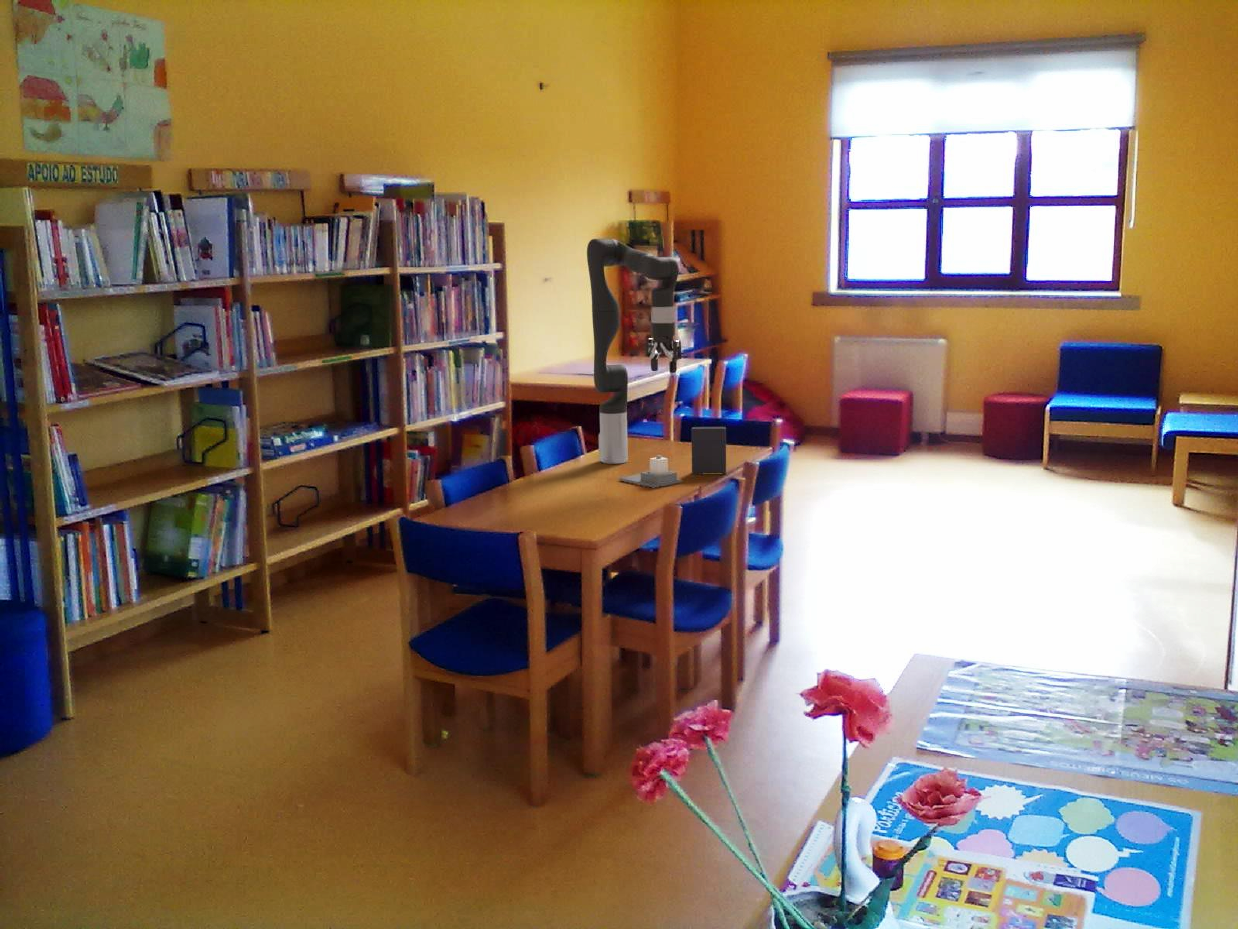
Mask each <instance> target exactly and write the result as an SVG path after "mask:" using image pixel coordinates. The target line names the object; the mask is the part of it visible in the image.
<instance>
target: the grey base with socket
mask: <svg viewBox="0 0 1238 929" xmlns="http://www.w3.org/2000/svg"><path fill="white" fill-rule="evenodd" d="M677 473H678V472H677V471H672V470H668V473H667V474H662V475H654V474H650V470H648V471H642V472H640V473H637V474H632V475H629V476H628V475H627V476H622V477H618V478H619V479H618V481H619V480H620V481H619V482H621V481H624V482H623V483H626V482H629V483H628V484H631V483H635V484H639V485H638V486H640V485H643V486H642V487H645V486H649V487H652V488H651V489H656V488H655V487H657V488H660V487H659V486H662V487H666V486H671V485H676V483H677V484H679V483H680V484H682V478H678V474H677ZM635 484H634V485H635ZM649 487H648V488H649Z"/></svg>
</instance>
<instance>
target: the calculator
mask: <svg viewBox="0 0 1238 929" xmlns="http://www.w3.org/2000/svg"><path fill="white" fill-rule="evenodd" d="M690 432H691V433H690V434H691V474H692V475H704V474H703V473H722V474H721V475H726V474H727V428H726V426H698V427H697V426H694V427H693V426H692V428H691V430H690Z"/></svg>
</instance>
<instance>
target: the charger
mask: <svg viewBox="0 0 1238 929" xmlns="http://www.w3.org/2000/svg"><path fill="white" fill-rule="evenodd" d="M649 471H650V474H654V475H662V474H667V473H668V471H669V459H668V458H667V457H663V456H662V455H657V454H656V455H655V457H651V458H649Z"/></svg>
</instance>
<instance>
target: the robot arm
mask: <svg viewBox="0 0 1238 929" xmlns="http://www.w3.org/2000/svg"><path fill="white" fill-rule="evenodd" d="M586 247H587V248H586V260H587V266H588V273H589V274H588V275H589V282H590V291H591V292H590V293H591V315H592V316H591V318H592V329H593V330H592V331H593V347H594V348H593V350H594V351H593V383H594V384H593V385H594V387H595V390H596V391H597V392H598V393H599V394H605V393H606V394H607V393H613V395H612V396H611V397H610V398H609V399H607V400H605V401H603V402H601V403H600V404H599V430H600V431H599V433H598V461H600V462H601V463H602V462H603V463H602V464H609V465H610V464H611V465H613V464H614V465H615V464H617V465H618V464H625V463H627V462H628V461H629V459H628V456H629V454H628V418H627V417H628V416H627V415H628V412H627V411H628V410H627V406H628V389H629V388H628V386H629V376H628V371H627V368H626V366H625V365H623V364H607V357H608V352H609V349H610V347H611V345H612V342H613V341H614V339H615V337H616V335H617V334H618V332H619V329H620V326H621V318H620V317H621V316H620V315H621V314H620V313H621V312H620V305H619V302H618V300H617V298H616V296H615V295H614V293H613V292H612V290H611V288H610V287H609V285H608V283H607V280H606V274H605V268H606V267H615V266H625V267H626V268H627V269H628V270H630V271H632V272H633V273H637V274H640V275H642V276H644V277H645V278H646V279H648V280H653V281H661V280H662V281H661V284H660V285H659V286H658V287H655V288H653V289H652V290H651V310H650V331H651V332H650V333H651V335H650V336H652V337H651V338H646V340H645V357H646V358H649V360H650V369H651V370H650V371H652V372H658V371H659V362H658V361H659V359H658V358H659V356H660V355H661V354H665V356H666V357H667V359H669V361H668V362H669V364H668V366H669V367H668V368H669V373H670V374H676V373H677V365H678V363H677V361H679V360H681V359H682V342H681V340H679V339H678V340H674V336H675V335H676V319H675V317H676V313H675V302H674V301H675V300H674V295H675V290H676V285H677V281H678V277H679V270H680V269H679V268H680V267H679V263H678V261H677V260H676V259H675V258H674V257H672V256H660V257H659V256H658V257H657V256H655V255H654V254H651V253H649V252H646V251H642V250H639V249H636V248H632V247H630V246H628V245H626V244H624V243H622V242H621V241H619V240H617V239H615V238H592V239H590V240H589V242H588V243H587V246H586Z"/></svg>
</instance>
